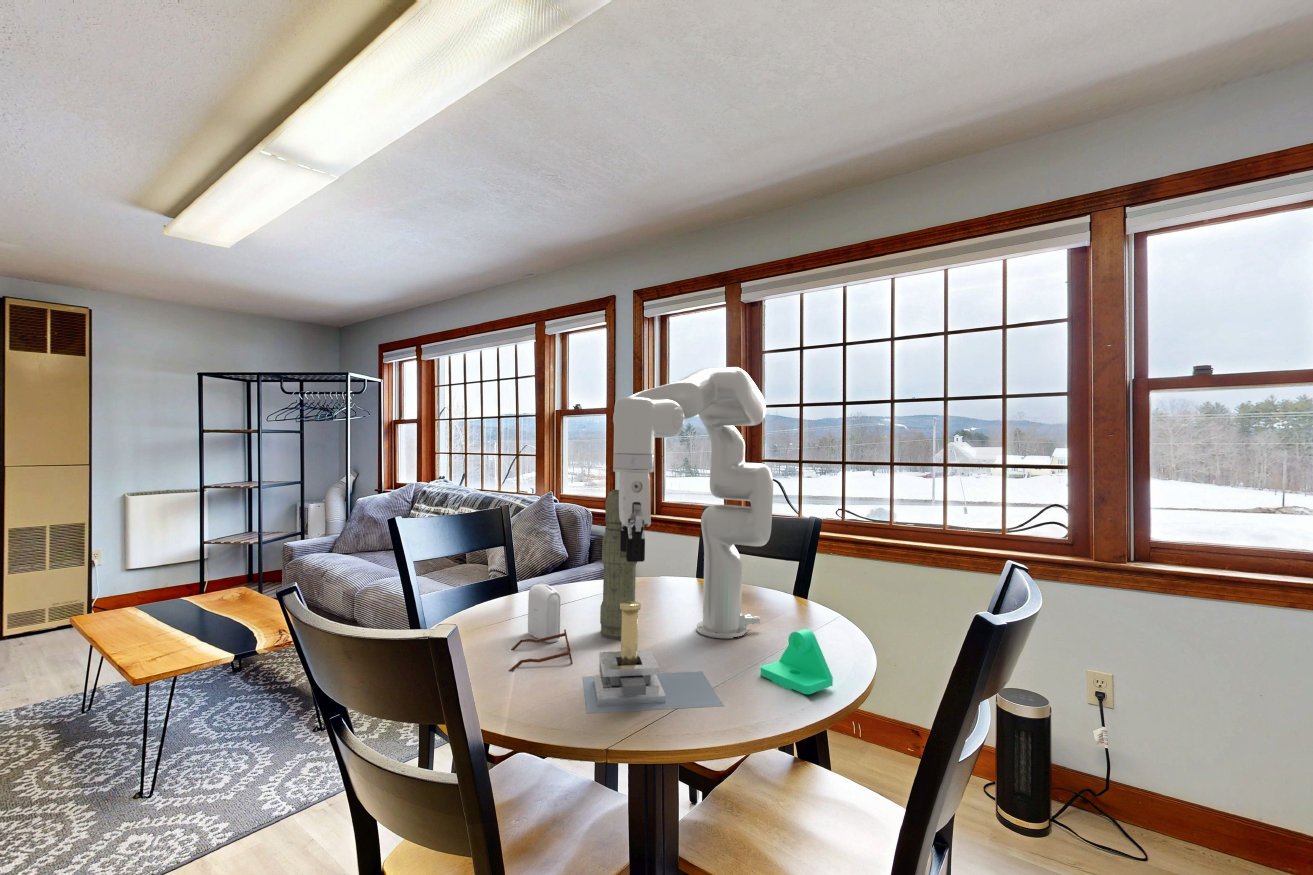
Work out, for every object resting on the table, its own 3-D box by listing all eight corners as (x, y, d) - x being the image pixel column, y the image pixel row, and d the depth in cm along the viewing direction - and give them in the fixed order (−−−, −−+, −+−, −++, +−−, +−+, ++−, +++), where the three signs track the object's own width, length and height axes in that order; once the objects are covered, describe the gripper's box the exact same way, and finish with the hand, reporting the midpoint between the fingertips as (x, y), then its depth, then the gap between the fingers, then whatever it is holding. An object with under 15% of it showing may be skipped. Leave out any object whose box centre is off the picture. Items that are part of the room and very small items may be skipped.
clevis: (655, 678, 115) (655, 649, 115) (668, 708, 101) (669, 675, 101) (593, 681, 112) (594, 651, 113) (598, 712, 99) (599, 679, 99)
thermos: (623, 624, 151) (626, 488, 152) (645, 637, 141) (648, 491, 142) (591, 628, 147) (595, 488, 148) (612, 643, 137) (615, 492, 137)
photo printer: (525, 633, 142) (526, 582, 143) (540, 630, 145) (542, 579, 145) (545, 644, 134) (547, 590, 135) (562, 641, 137) (563, 588, 137)
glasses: (573, 670, 121) (573, 645, 121) (508, 674, 118) (508, 649, 118) (568, 648, 134) (569, 626, 134) (509, 651, 131) (510, 629, 131)
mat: (701, 674, 119) (701, 671, 119) (724, 709, 103) (724, 705, 103) (582, 679, 115) (582, 676, 115) (586, 716, 99) (586, 713, 99)
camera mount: (758, 679, 117) (759, 627, 117) (783, 671, 122) (784, 621, 122) (806, 701, 108) (807, 644, 108) (832, 691, 112) (833, 637, 112)
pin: (637, 680, 110) (639, 601, 111) (640, 688, 107) (642, 606, 107) (616, 680, 110) (618, 601, 110) (619, 689, 106) (621, 606, 106)
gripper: (661, 465, 101) (660, 565, 101) (646, 462, 118) (644, 547, 118) (618, 465, 100) (616, 566, 100) (609, 462, 117) (607, 548, 117)
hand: (631, 556), depth 109 cm, fingers open, 9 cm apart
